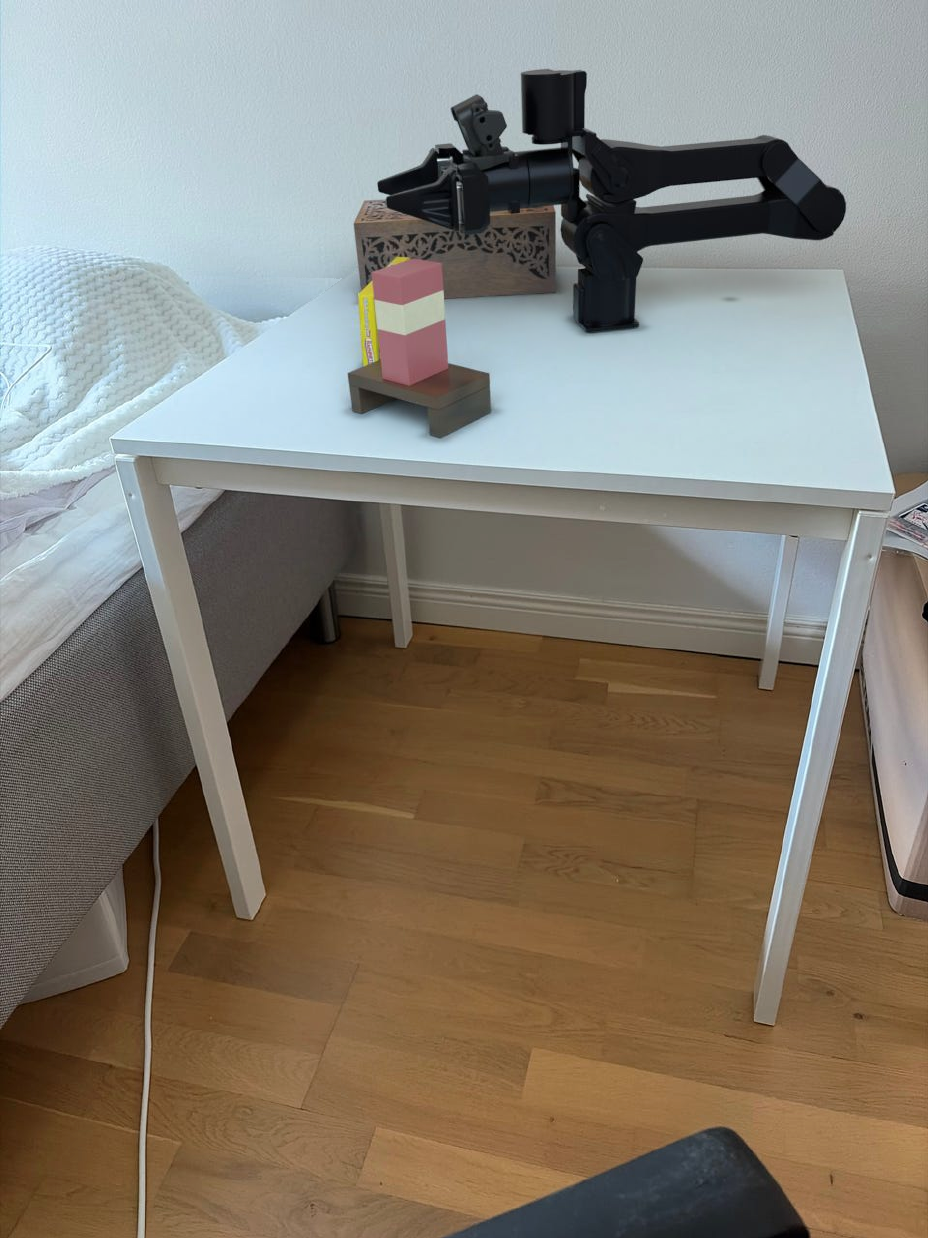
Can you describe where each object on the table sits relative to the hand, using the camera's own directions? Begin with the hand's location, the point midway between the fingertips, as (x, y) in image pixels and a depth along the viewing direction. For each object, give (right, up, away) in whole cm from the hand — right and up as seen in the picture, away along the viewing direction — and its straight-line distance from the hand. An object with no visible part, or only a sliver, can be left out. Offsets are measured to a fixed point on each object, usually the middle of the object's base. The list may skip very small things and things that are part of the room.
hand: (381, 194), depth 103 cm
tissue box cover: (+8, +1, +31) cm, 32 cm away
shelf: (+5, -25, -8) cm, 27 cm away
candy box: (0, -14, +10) cm, 17 cm away
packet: (+4, -22, -10) cm, 24 cm away
